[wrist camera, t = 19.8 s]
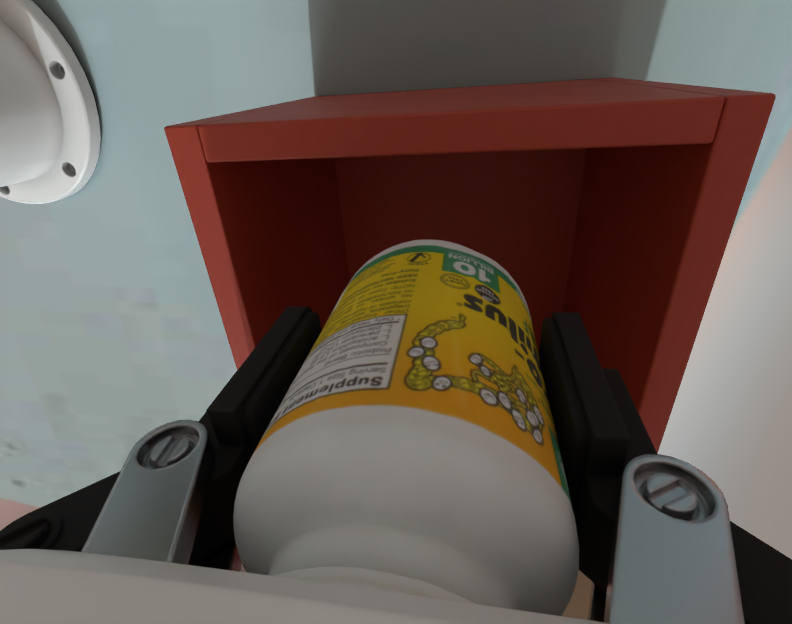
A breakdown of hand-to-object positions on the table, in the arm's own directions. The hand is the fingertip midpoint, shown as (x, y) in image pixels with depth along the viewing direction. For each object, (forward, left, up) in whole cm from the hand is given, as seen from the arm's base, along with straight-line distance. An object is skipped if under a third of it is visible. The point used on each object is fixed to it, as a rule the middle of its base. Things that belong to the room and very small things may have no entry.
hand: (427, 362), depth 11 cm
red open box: (+3, -2, -16) cm, 16 cm away
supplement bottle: (0, 0, -2) cm, 2 cm away
